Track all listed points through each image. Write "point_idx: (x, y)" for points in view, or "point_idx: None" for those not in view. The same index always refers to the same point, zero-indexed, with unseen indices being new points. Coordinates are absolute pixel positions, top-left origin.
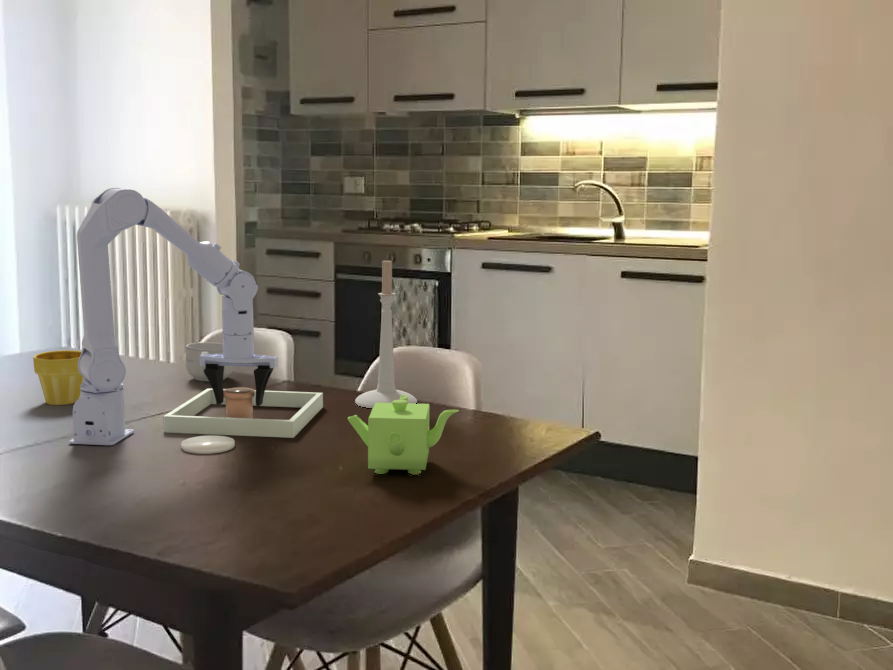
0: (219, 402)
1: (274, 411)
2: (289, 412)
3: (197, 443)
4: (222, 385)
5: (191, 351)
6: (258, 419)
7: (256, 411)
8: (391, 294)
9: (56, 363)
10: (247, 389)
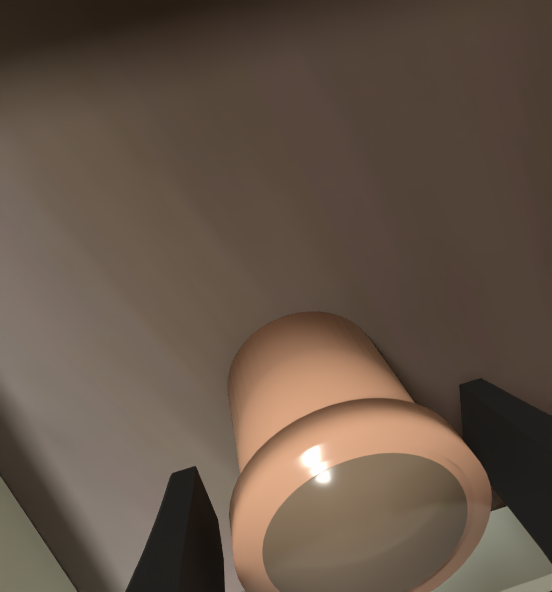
0: (218, 534)
1: (396, 44)
2: (513, 28)
3: None
4: (186, 577)
5: None
6: (546, 583)
7: (268, 105)
8: None
9: None
10: (418, 481)
